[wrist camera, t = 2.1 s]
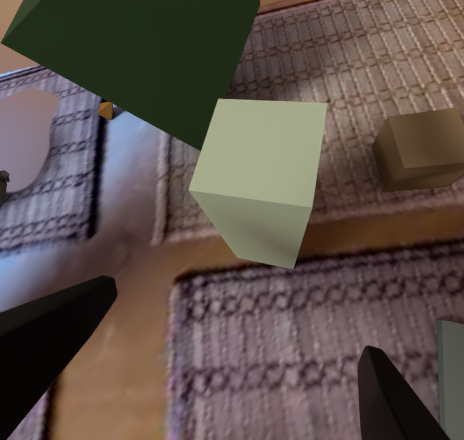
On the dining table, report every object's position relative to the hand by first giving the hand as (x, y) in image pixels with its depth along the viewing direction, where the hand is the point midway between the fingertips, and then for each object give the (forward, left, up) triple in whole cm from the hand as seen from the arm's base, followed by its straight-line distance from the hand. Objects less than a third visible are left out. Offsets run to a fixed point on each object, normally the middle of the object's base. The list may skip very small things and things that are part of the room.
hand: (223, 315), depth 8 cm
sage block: (0, +7, -13) cm, 14 cm away
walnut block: (+11, +16, -13) cm, 23 cm away
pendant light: (-12, +22, -13) cm, 28 cm away
